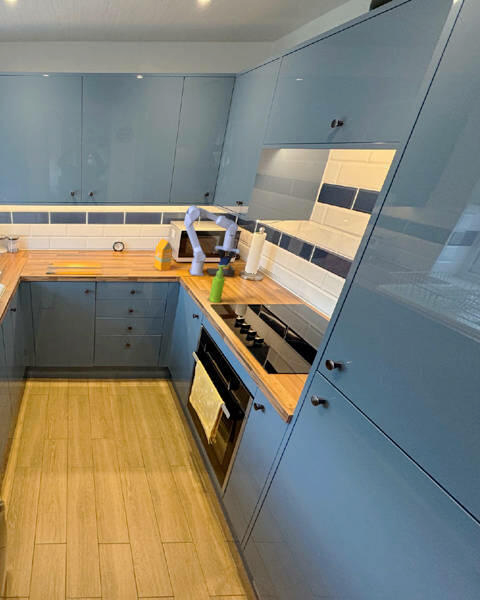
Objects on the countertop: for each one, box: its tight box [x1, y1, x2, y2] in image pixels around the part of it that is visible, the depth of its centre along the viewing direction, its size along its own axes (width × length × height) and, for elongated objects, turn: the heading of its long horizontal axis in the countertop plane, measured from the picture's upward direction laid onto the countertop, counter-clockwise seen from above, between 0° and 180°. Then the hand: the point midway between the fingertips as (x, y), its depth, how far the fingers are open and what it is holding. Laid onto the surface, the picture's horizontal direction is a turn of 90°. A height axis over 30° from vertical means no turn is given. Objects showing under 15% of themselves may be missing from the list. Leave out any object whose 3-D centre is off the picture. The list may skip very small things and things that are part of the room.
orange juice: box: [153, 238, 174, 272], centre depth 221 cm, size 8×9×20 cm
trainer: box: [217, 255, 231, 269], centre depth 208 cm, size 11×5×4 cm, turn 142°
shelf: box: [205, 264, 236, 278], centre depth 214 cm, size 11×15×4 cm
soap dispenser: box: [208, 265, 229, 304], centre depth 174 cm, size 6×7×20 cm
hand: (224, 261), depth 210 cm, fingers closed on trainer, 4 cm apart
